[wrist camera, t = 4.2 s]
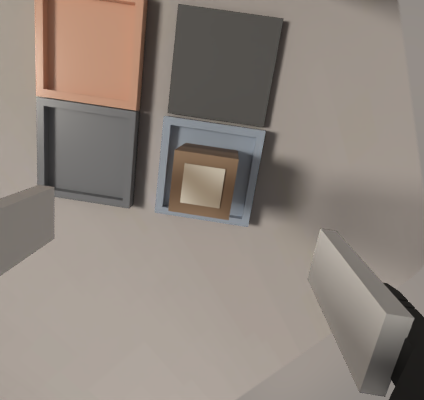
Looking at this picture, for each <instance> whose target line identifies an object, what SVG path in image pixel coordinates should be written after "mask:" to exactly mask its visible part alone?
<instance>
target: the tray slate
mask: <svg viewBox="0 0 424 400" xmlns="http://www.w3.org/2000/svg"><path fill="white" fill-rule="evenodd" d="M265 133H266V131H265V130H259V129H252V128H246V127H239V126H232V125H225V124H219V123H212V122H205V121H198V120H192V119H185V118H178V117H171V116H164V120H163V130H162V141H161V151H160V162H159V172H158V183H157V193H156V204H155V213H161V214H168V215H174V216H181V217H187V218H193V219H200V220H206V221H213V222H219V223H225V224H232V225H238V226H245V227H248V224H249V219H250V213H251V208H252V203H253V197H254V192H255V187H256V181H257V176H258V170H259V165H260V160H261V154H262V149H263V143H264V138H265ZM185 143H191V144H198V145H204V146H211V147H218V148H224V149H231V150H238V157H239V162H238V168H237V174H236V180H235V186H234V192H233V198H232V204H231V210H230V216H229V220H223V219H217V218H211V217H204V216H198V215H191V214H185V213H179V212H172V211H168V207H169V198H170V188H171V179H172V170H173V160H174V151H175V149H177V148H178V147H180V146H182V145H183V144H185Z"/></svg>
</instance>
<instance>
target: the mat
mask: <svg viewBox="0 0 424 400" xmlns="http://www.w3.org/2000/svg"><path fill="white" fill-rule="evenodd" d="M282 24H283V18H276V17H269V16H261V15H254V14H247V13H240V12H233V11H225V10H218V9H211V8H204V7H197V6H190V5H182V4H178V12H177V22H176V33H175V43H174V53H173V63H172V74H171V84H170V94H169V104H168V113H172V114H179V115H186V116H192V117H199V118H206V119H213V120H220V121H226V122H233V123H240V124H247V125H253V126H260V127H264V122H265V117H266V111H267V106H268V100H269V95H270V89H271V84H272V79H273V73H274V68H275V62H276V57H277V51H278V46H279V40H280V35H281V29H282Z"/></svg>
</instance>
